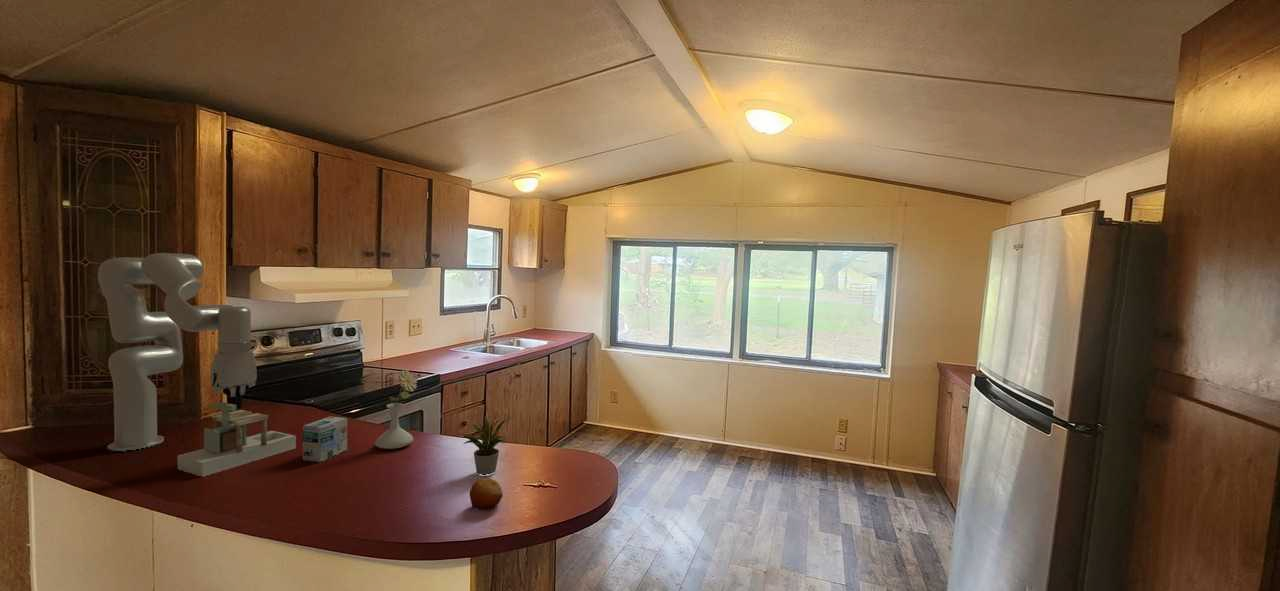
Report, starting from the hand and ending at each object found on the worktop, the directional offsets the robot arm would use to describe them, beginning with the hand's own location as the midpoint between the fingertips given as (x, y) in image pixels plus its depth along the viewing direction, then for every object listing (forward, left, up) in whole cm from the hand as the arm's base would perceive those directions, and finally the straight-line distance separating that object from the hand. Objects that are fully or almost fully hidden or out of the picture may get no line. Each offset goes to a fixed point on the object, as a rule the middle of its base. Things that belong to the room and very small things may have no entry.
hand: (235, 408), depth 146 cm
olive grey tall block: (0, -3, -11) cm, 11 cm away
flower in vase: (+32, +30, -16) cm, 47 cm away
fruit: (+87, +8, -16) cm, 89 cm away
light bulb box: (+20, +14, -16) cm, 29 cm away
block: (0, -2, -12) cm, 12 cm away
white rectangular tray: (0, +1, -15) cm, 16 cm away
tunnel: (0, +1, -12) cm, 12 cm away
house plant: (+73, +26, -16) cm, 79 cm away
